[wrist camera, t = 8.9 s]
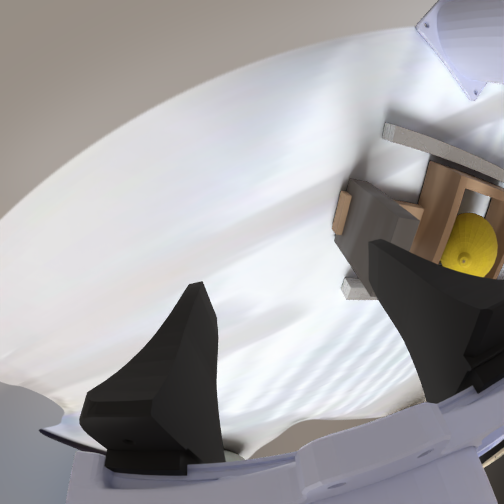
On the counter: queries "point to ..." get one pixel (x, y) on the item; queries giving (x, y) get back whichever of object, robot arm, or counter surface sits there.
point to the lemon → (470, 246)
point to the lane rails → (415, 140)
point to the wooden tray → (411, 218)
